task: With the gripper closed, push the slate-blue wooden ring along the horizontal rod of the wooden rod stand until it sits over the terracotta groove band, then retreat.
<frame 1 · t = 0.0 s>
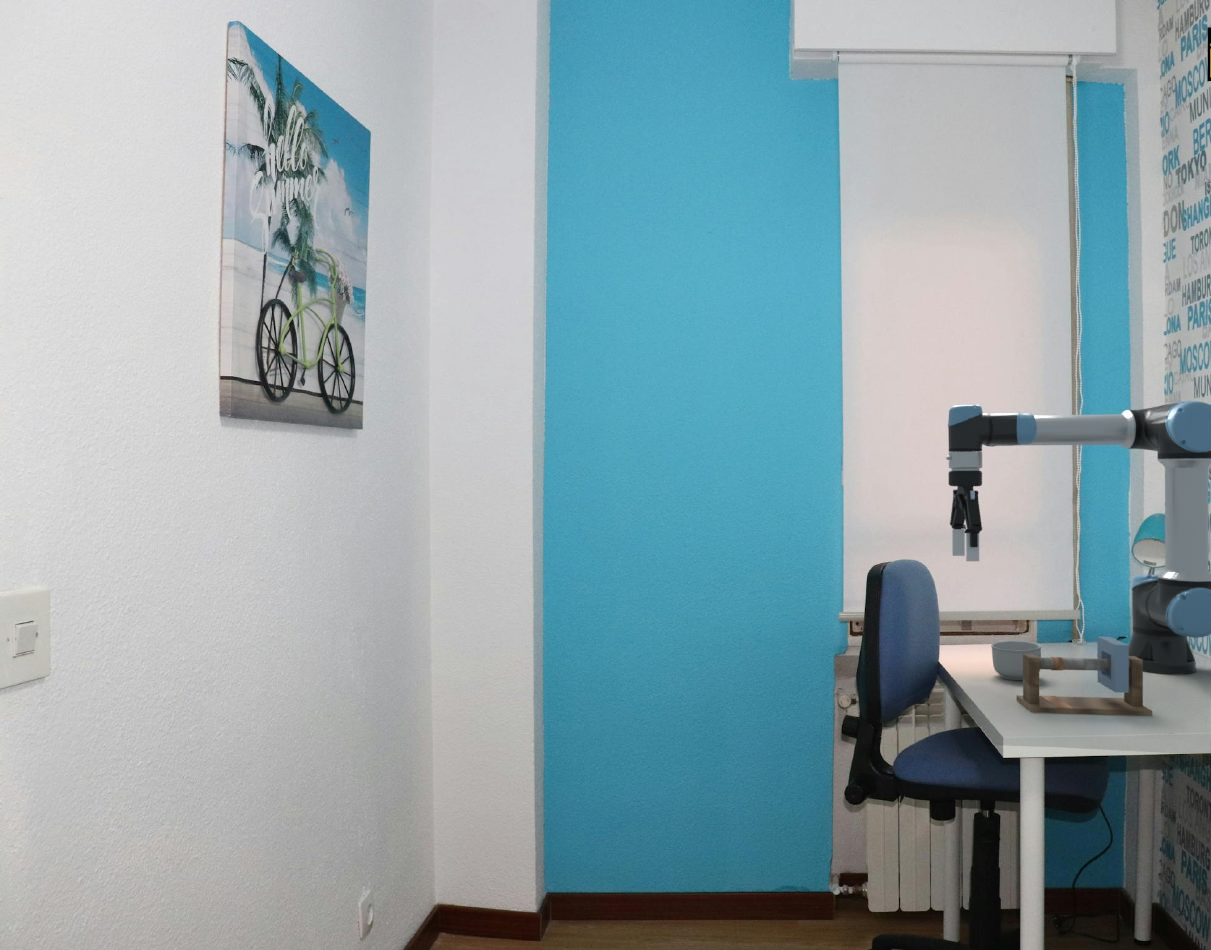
hand: (965, 558, 223), 28 cm above the table, fingers open, 13 cm apart
ring: (1112, 664, 192), point 9 cm above the table, slide at -6.0 cm
wooden rod stand: (1081, 707, 192), on the table
teacup: (1014, 677, 221), on the table
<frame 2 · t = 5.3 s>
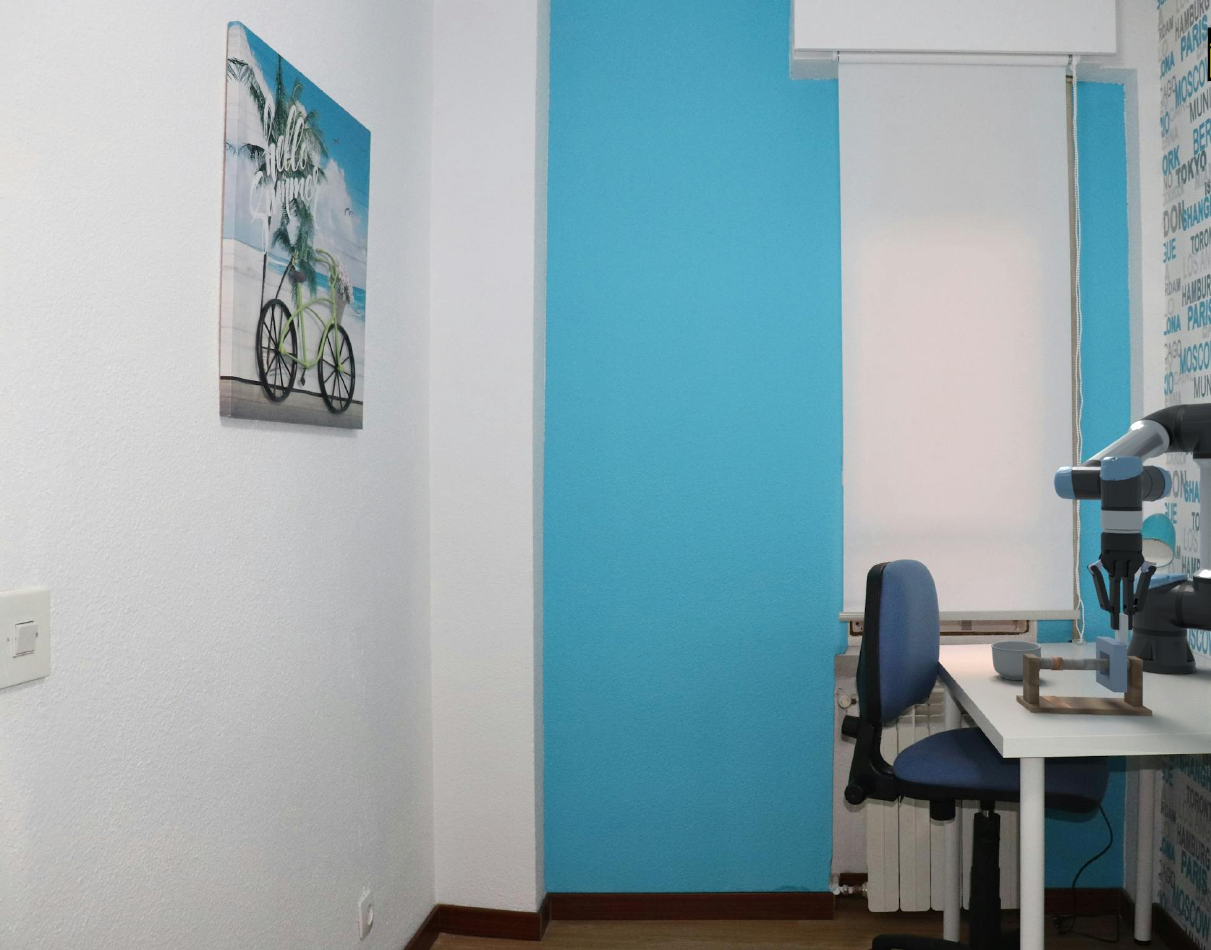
hand: (1121, 645, 191), 13 cm above the table, fingers closed
ring: (1111, 664, 192), point 9 cm above the table, slide at -5.7 cm, touching gripper
everything else where it was.
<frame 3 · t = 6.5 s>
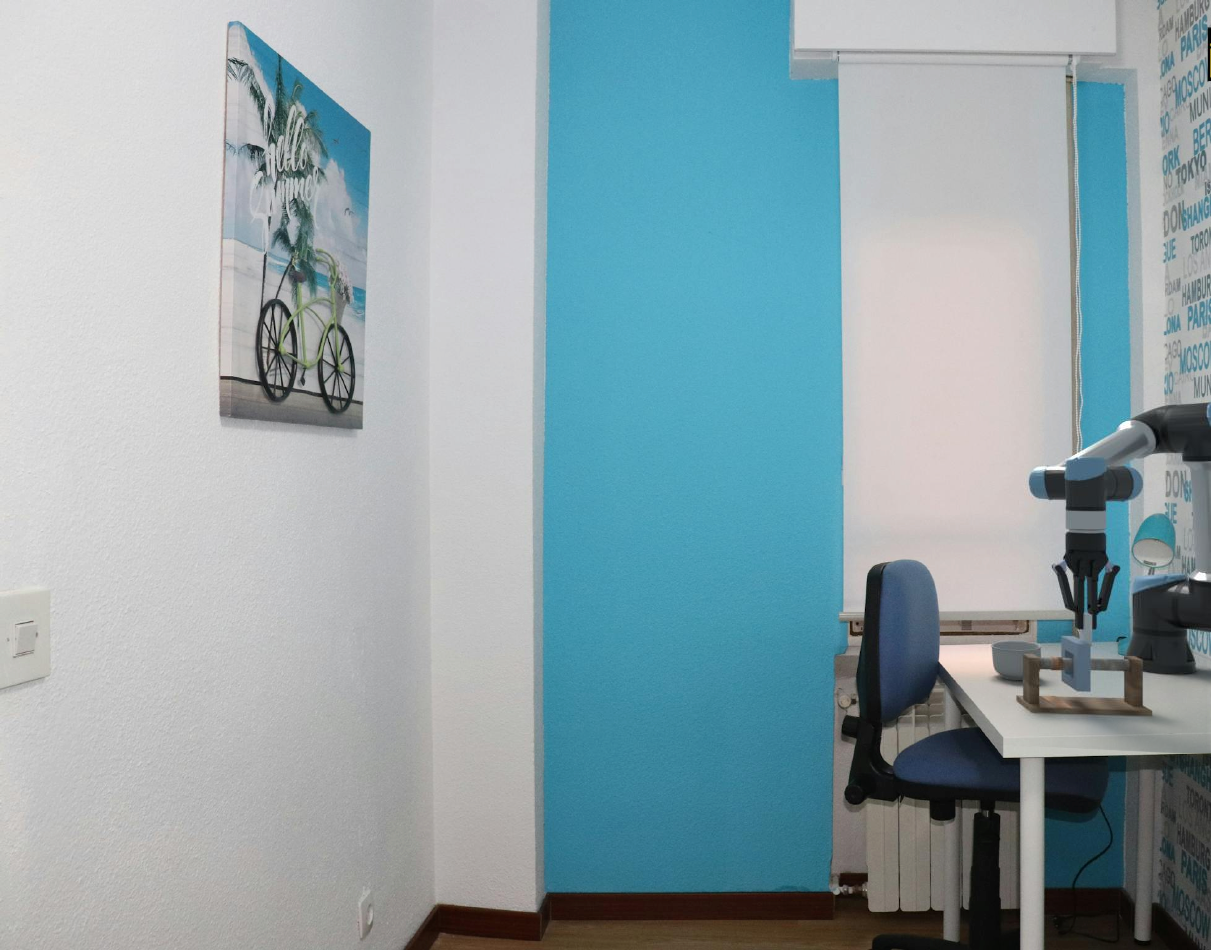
hand: (1085, 645, 192), 13 cm above the table, fingers closed
ring: (1075, 663, 193), point 9 cm above the table, slide at 1.2 cm, touching gripper
everything else where it was.
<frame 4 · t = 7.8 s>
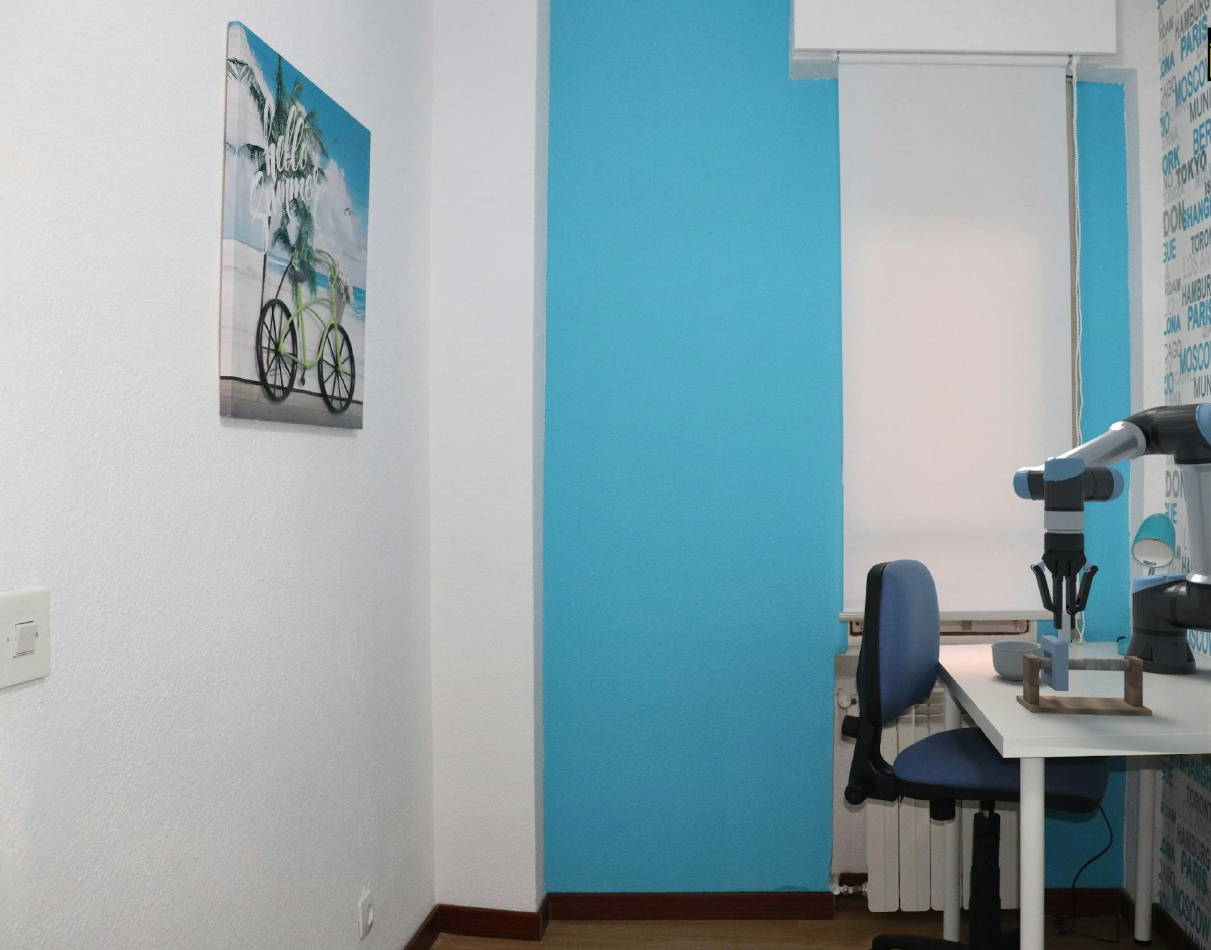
hand: (1064, 645, 193), 13 cm above the table, fingers closed
ring: (1054, 662, 193), point 9 cm above the table, slide at 5.4 cm, touching gripper
everything else where it was.
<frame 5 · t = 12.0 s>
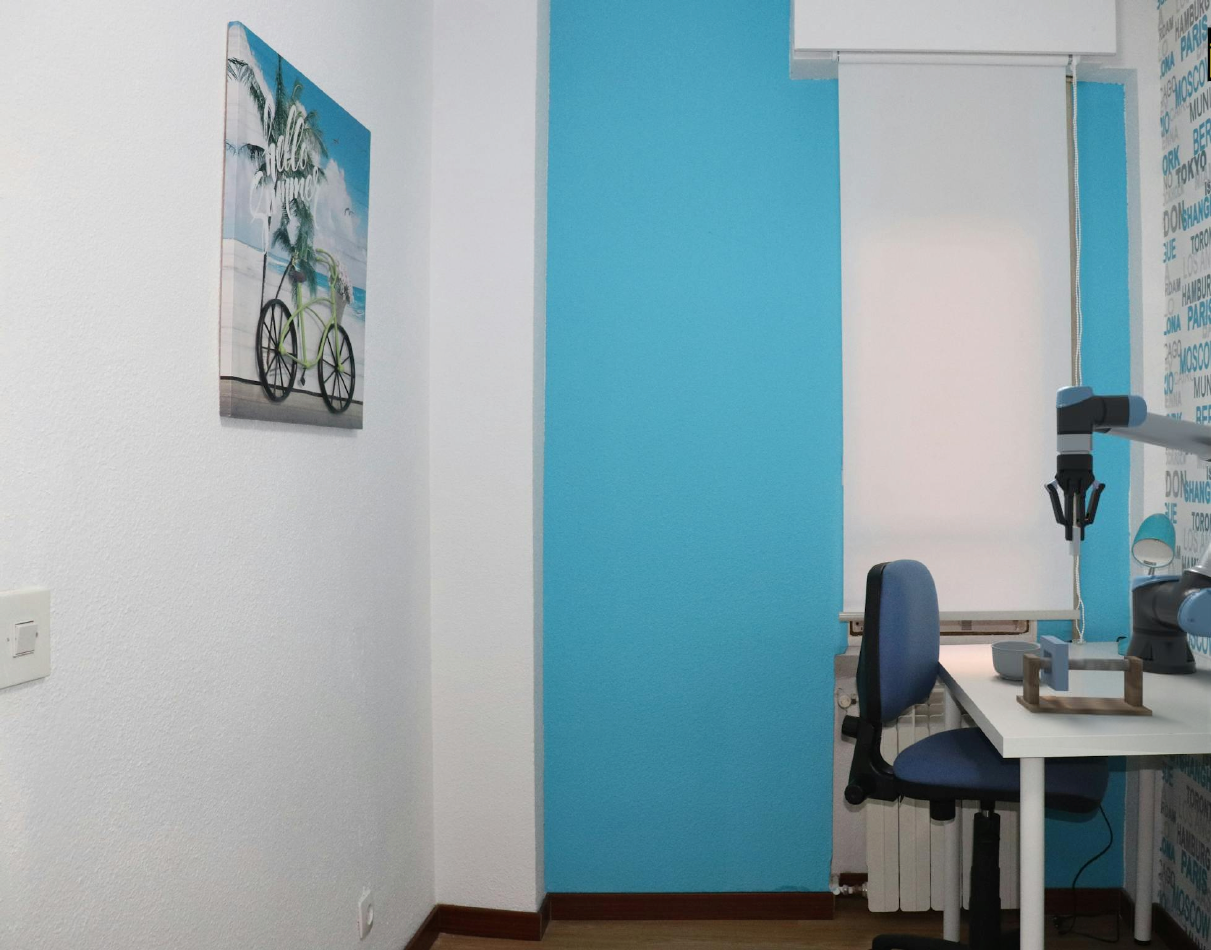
hand: (1074, 555, 215), 29 cm above the table, fingers closed
ring: (1054, 662, 193), point 9 cm above the table, slide at 5.4 cm
everything else where it was.
at the end: ring slide at 5.4 cm; ring 0.2 cm from the target spot on the wooden rod stand, point 9.0 cm above the wooden rod stand's base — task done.
